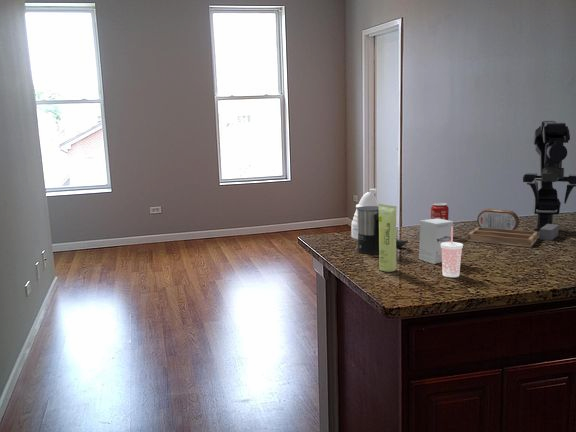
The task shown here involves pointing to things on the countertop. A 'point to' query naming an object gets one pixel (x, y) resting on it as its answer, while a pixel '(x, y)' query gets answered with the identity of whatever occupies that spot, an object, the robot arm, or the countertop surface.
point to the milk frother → (370, 230)
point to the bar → (549, 232)
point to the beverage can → (439, 211)
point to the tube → (387, 238)
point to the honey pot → (366, 200)
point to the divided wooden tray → (503, 236)
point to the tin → (498, 219)
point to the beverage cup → (451, 257)
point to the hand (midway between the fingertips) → (550, 202)
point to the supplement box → (433, 239)
